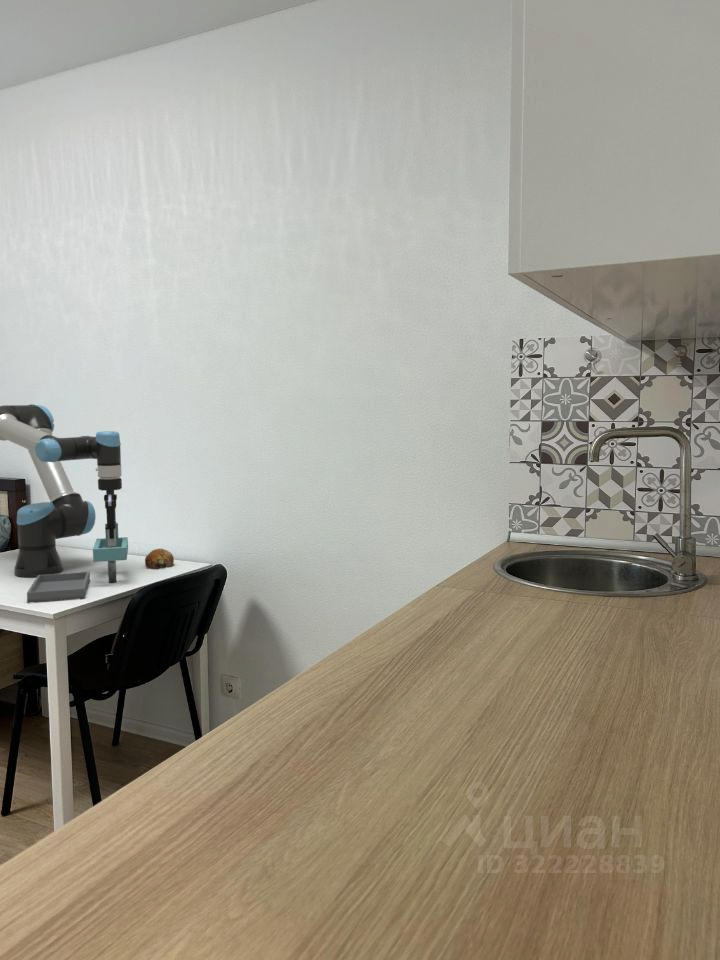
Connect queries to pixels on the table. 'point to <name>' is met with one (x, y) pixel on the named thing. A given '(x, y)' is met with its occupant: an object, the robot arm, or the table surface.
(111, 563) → the t stake
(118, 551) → the teal boxy piece
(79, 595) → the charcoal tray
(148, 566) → the bread roll
